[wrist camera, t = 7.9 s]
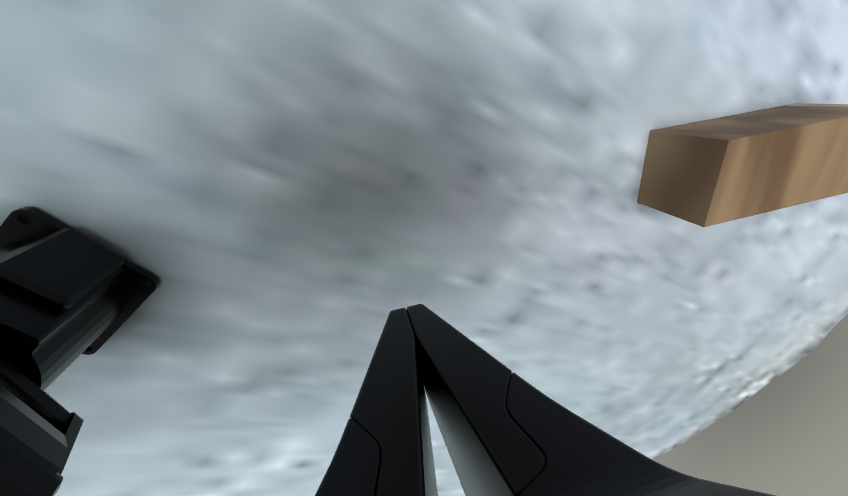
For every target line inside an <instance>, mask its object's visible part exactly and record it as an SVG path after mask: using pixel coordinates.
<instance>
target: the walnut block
mask: <svg viewBox="0 0 848 496" xmlns="http://www.w3.org/2000/svg"><path fill="white" fill-rule="evenodd" d="M844 193H848V105H846V104H802V103H796V104H791V105H785V106H780V107H774V108H769V109H764V110H758V111H753V112H748V113H742V114H737V115H732V116H726V117H721V118H716V119H710V120H705V121H699V122H694V123H689V124H683V125H678V126H673V127H667V128H662V129H657V130H651V131H650V134H649V139H648V145H647V150H646V156H645V161H644V167H643V172H642V178H641V184H640V189H639V195H638V200H637V202H638V203H640V204H643V205H646V206H648V207H651V208H654V209H656V210H659V211H662V212H664V213H667V214H670V215H673V216H675V217H678V218H681V219H683V220H686V221H689V222H691V223H694V224H697V225H699V226H702V227H707V226H711V225H715V224H719V223H723V222H728V221H732V220H736V219H740V218H744V217H748V216H753V215H757V214H761V213H765V212H769V211H773V210H777V209H782V208H786V207H790V206H794V205H798V204H802V203H807V202H811V201H815V200H819V199H823V198H827V197H831V196H836V195H840V194H844Z"/></svg>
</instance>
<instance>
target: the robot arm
mask: <svg viewBox="0 0 848 496" xmlns="http://www.w3.org/2000/svg"><path fill="white" fill-rule="evenodd" d="M25 215H27V216H28V217H30V218H31V220H32V221H29V220H27V219H26V218H25ZM144 281H147V282H149V283H150V284H151V285H147V284H145V283H144ZM159 284H160V281H159V279H158V278H157V277H156V276H155V275H153V274H151V273H149V272H148V271H146V270H144V269H142V268H140V267H139V266H137V265H135V264H133V263H132V262H130V261H128V260H126V259H124V258H123V257H121V256H119V255H117V254H116V253H114V252H112V251H110V250H109V249H107V248H105V247H103V246H101V245H100V244H98V243H96V242H94V241H93V240H91V239H89V238H87V237H85V236H84V235H82V234H80V233H78V232H77V231H75V230H73V229H71V228H69V227H68V226H66V225H64V224H62V223H60V222H59V221H57V220H55V219H53V218H52V217H50V216H48V215H46V214H44V213H43V212H41V211H39V210H37V209H35V208H32V207H23V208H20V209H17V210H15V211H13V212H12V213H11V214H10V215H9V216H8V217H7V219H6V220H5V221H4V222H3V224H2V225H1V226H0V496H54V495H55V494H56V492H57V491H58V489H59V487H60V485H61V482H62V480H63V477H62V476H61V473H62V471H63V469H64V466H65V464H66V461H67V459H68V457H69V454H70V452H71V450H72V447H73V445H74V442H75V440H76V438H77V435H78V433H79V430H80V428H81V426H82V423H83V419H81V418H80V417H79V416H78V415H77V414H76V413H74V412H73V413H70V412H68V411H67V410H66V409H65V408H64V407H62V406H61V405H60V404H59V403H58V402H57V401H55V400H54V399H53V398H52V397H51V396H49V395H48V394H47V393H46V392H45V391H44V390H45V389H46V388H47V387H48V386H49V385H50V384H51V383H52V382H53V381H54V380H55V379H56V378H57V377H58V376H59V375H60V374H61V373H62V372H63V371H64V370H65V369H66V368H67V367H68V366H69V365H70V364H71V363H72V362H73V361H74V360H75V359H76V358H77V357H78V356H79V355H80V354H89V355H90V354H94V353H95V352H96V351H97V350H98V349H99V348H100V347H101V346H102V345H103V344H104V343H105V342H106V341H107V340H108V339H109V338H110V337H111V336H112V335H113V334H114V332H115V331H116V330H117V329H118V328H119V327H120V326H121V325H122V324H123V323H124V322H125V321H126V320H127V319H128V318H129V317H130V316H131V315H132V314H133V312H134V311H135V310H136V309H137V308H138V307H139V306H140V305H141V304H142V303H143V302H144V301H145V300H146V299H147V298H148V297H149V296H150V295H151V294H152V293H153V291H154V290H155V289H156V288H157V287H158V286H159ZM424 388H425V389H424ZM425 391H426V394H427V397H428V400H429V403H430V405H431V408H432V410H433V413H434V416H435V418H436V421H437V423H438V426H439V428H440V431H441V434H442V436H443V439H444V441H445V444H446V446H447V449H448V452H449V454H450V457H451V459H452V462H453V464H454V467H455V470H456V472H457V475H458V477H459V480H460V483H461V485H462V488H463V490H464V493H465V495H466V496H775V495H771V494H766V493H762V492H757V491H753V490H748V489H743V488H739V487H734V486H730V485H725V484H720V483H716V482H711V481H707V480H703V479H698V478H694V477H692V476H689V475H685V474H682V473H680V472H677V471H675V470H673V469H670V468H668V467H666V466H664V465H661V464H659V463H657V462H655V461H653V460H652V459H650V458H648V457H646V456H644V455H643V454H641V453H639V452H638V451H636V450H634V449H633V448H631V447H629V446H628V445H626V444H624V443H623V442H621V441H619V440H618V439H616V438H614V437H613V436H611V435H609V434H608V433H606V432H604V431H603V430H601V429H599V428H598V427H596V426H594V425H593V424H591V423H589V422H588V421H586V420H584V419H583V418H581V417H579V416H578V415H576V414H574V413H573V412H571V411H569V410H568V409H566V408H565V407H563V406H561V405H560V404H558V403H557V402H555V401H554V400H552V399H550V398H549V397H547V396H546V395H544V394H543V393H542V392H540V391H539V390H537V389H536V388H535V387H533V386H532V385H530V384H529V383H527V382H526V381H525V380H523V379H522V378H521V377H519V376H518V375H517V374H515V373H512V371H511V370H510V369H508V368H507V367H506V366H504V365H503V364H502V363H500V362H499V361H498V360H496V359H495V358H494V357H492V356H491V355H490V354H488V353H487V352H486V351H484V350H483V349H482V348H480V347H479V346H478V345H476V344H475V343H474V342H472V341H471V340H470V339H468V338H467V337H466V336H464V335H463V334H462V333H460V332H459V331H458V330H456V329H455V328H454V327H452V326H451V325H450V324H448V323H447V322H446V321H444V320H443V319H442V318H440V317H439V316H438V315H436V314H435V313H434V312H432V311H431V310H430V309H428V308H427V307H426V306H424V305H423V304H418V305H413V306H409V307H408V308H407V310H406V309H405V308H401V309H397V310H393V311H391V312H390V313H389V316H388V319H387V321H386V324H385V326H384V329H383V332H382V334H381V337H380V339H379V342H378V345H377V347H376V350H375V352H374V355H373V358H372V360H371V363H370V365H369V368H368V371H367V373H366V376H365V378H364V381H363V384H362V386H361V389H360V391H359V394H358V397H357V399H356V402H355V404H354V407H353V410H352V412H351V415H350V419H349V420H348V422H347V425H346V427H345V430H344V433H343V435H342V438H341V440H340V443H339V445H338V447H337V450H336V452H335V454H334V457H333V459H332V462H331V464H330V466H329V468H328V470H327V472H326V474H325V476H324V478H323V480H322V482H321V484H320V486H319V488H318V490H317V493H316V494H315V496H438V493H437V485H436V476H435V468H434V460H433V451H432V443H431V435H430V427H429V418H428V410H427V402H426V395H425Z"/></svg>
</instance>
